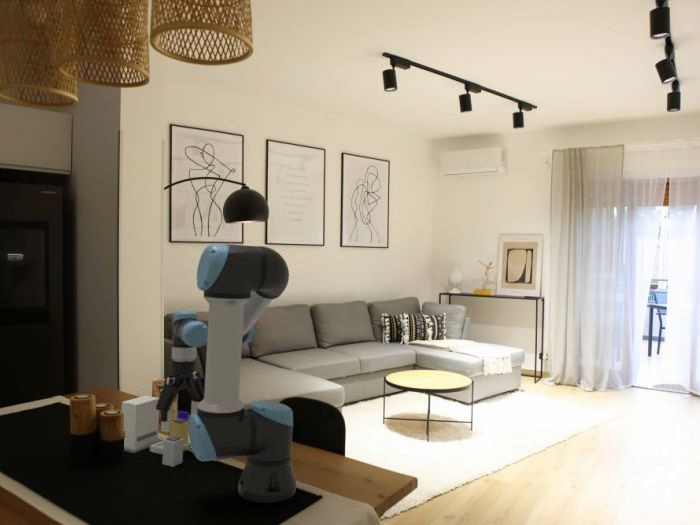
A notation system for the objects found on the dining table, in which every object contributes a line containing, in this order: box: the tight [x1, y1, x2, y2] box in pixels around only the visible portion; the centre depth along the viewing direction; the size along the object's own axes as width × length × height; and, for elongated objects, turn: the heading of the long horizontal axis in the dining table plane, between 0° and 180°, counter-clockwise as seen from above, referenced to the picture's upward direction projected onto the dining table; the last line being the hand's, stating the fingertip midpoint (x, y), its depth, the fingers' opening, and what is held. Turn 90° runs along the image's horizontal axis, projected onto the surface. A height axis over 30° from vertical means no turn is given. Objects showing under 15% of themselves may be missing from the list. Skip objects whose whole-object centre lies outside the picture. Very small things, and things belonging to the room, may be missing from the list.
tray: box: [149, 431, 192, 455], centre depth 178 cm, size 9×17×2 cm, turn 156°
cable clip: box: [172, 411, 189, 422], centre depth 190 cm, size 12×4×6 cm, turn 5°
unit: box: [121, 395, 163, 454], centre depth 177 cm, size 8×12×14 cm, turn 156°
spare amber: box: [169, 418, 189, 445], centre depth 178 cm, size 4×4×8 cm
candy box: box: [151, 378, 179, 424], centre depth 202 cm, size 9×4×15 cm, turn 103°
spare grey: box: [161, 435, 184, 468], centre depth 163 cm, size 4×4×8 cm
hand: (180, 426), depth 177 cm, fingers open, 13 cm apart
